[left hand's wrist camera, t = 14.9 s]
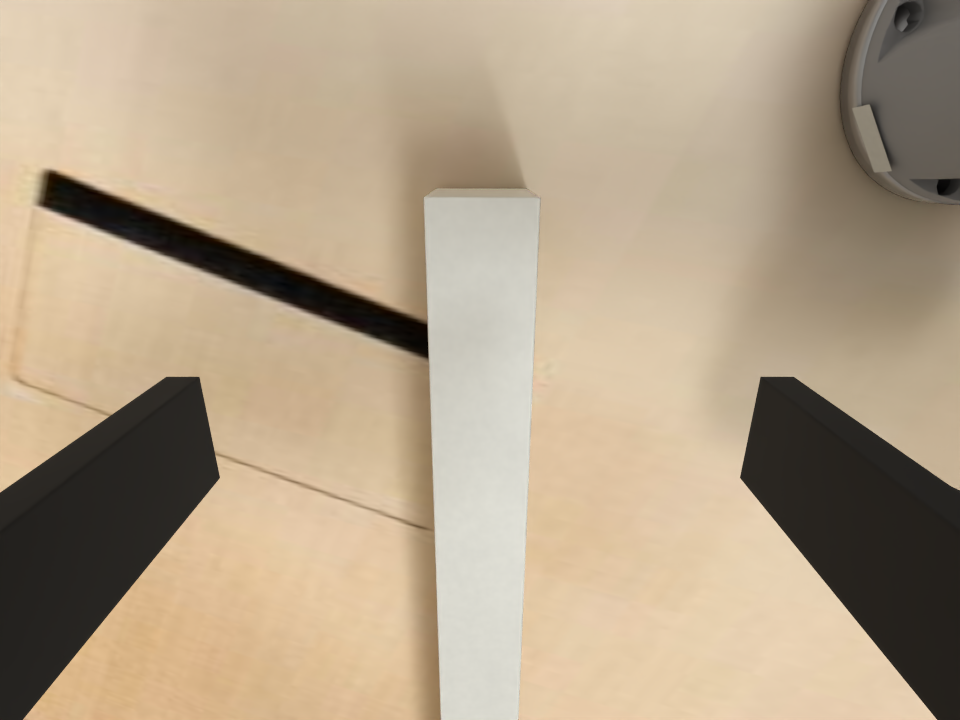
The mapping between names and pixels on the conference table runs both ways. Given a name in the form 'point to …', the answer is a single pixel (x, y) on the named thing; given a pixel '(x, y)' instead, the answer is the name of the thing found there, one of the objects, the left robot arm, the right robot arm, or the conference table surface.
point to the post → (480, 436)
